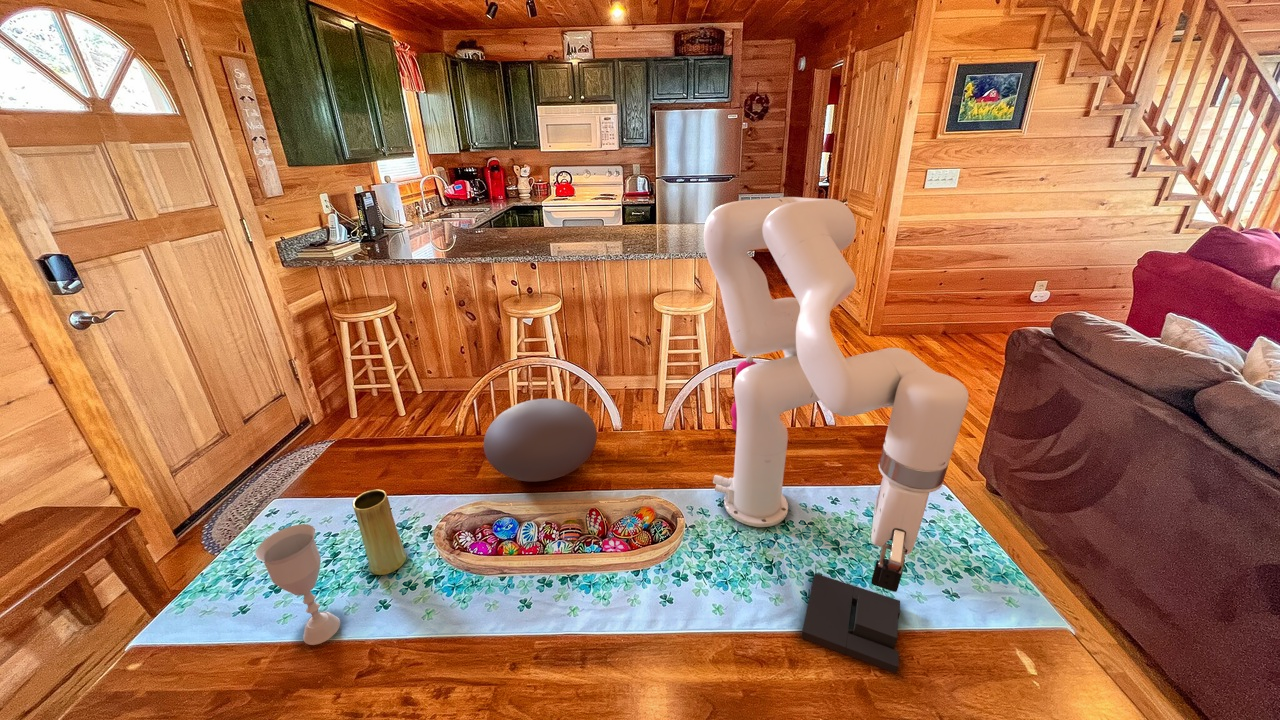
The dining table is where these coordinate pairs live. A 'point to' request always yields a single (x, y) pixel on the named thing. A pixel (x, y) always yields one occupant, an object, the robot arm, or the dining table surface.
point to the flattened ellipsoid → (540, 440)
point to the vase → (379, 532)
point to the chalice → (298, 575)
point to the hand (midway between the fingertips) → (885, 561)
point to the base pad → (844, 622)
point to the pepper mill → (739, 368)
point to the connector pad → (876, 622)
